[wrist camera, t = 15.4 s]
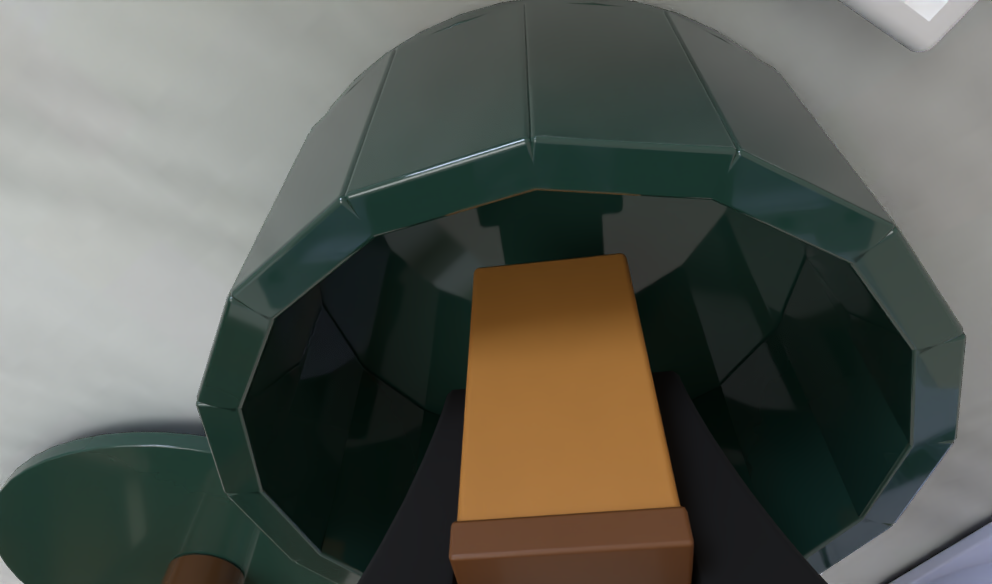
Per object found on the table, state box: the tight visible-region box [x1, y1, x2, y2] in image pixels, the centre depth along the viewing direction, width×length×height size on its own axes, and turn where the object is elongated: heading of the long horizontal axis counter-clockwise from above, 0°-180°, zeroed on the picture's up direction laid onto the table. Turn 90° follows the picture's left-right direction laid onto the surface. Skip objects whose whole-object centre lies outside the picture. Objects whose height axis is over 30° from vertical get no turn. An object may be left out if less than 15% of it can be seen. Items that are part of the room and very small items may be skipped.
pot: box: [196, 0, 966, 584], centre depth 14 cm, size 12×12×6 cm
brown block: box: [449, 253, 694, 584], centre depth 11 cm, size 5×3×5 cm, turn 8°
